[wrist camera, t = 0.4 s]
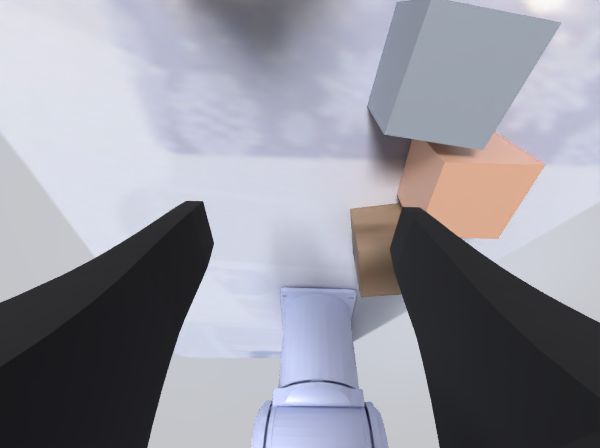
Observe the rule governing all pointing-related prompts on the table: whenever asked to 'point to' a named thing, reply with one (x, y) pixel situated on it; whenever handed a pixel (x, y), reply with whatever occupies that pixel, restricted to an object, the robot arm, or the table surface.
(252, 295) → the table surface
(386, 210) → the walnut block
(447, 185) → the terracotta block
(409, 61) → the slate block
